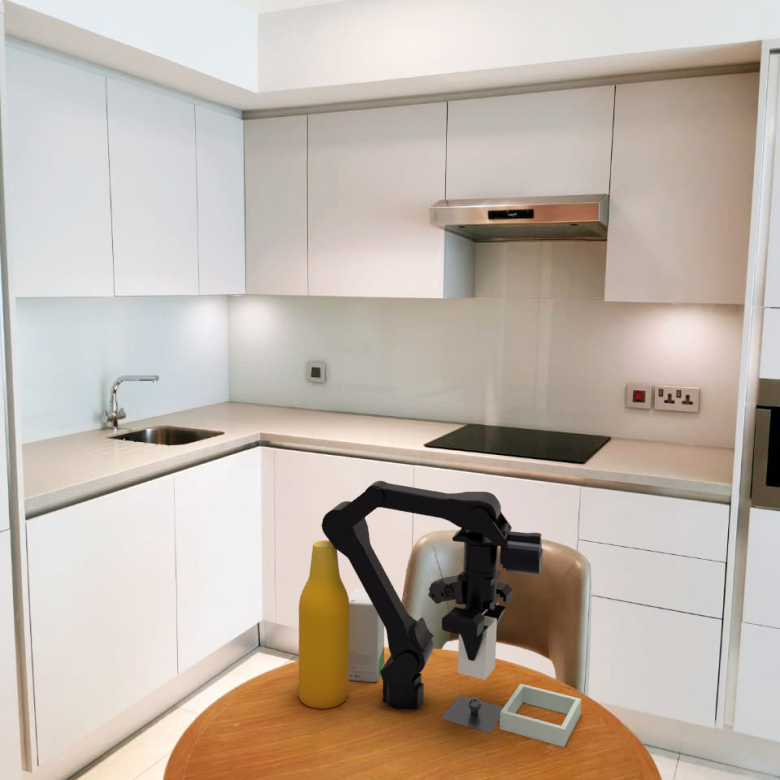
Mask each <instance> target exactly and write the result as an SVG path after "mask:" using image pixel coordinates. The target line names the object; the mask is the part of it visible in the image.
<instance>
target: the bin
mask: <svg viewBox="0 0 780 780" xmlns="http://www.w3.org/2000/svg"><path fill="white" fill-rule="evenodd" d="M522 704H527V705H530V706H534V707H537V708H542V709H546V710H549V711H554V712H558V713H561V714H564V715H566V717H565V718H564V720H563V721H562V724H561V725H559V724H555V723H553V722H548V721H544V720H541V719H536V718H534V717H530V716H527V715H522V714H518V713H517V712H518V711H519V709H520V707H522ZM503 707H504V708H503V709H502V710H501V712H500V720H499V730H502V731H506V732H509V733H512V734H516V735H520V736H524V737H527V738H530V739H534V740H537V741H541V742H545V743H548V744H552V745H554V746H555V745H556V746H558V747H562V748H565V746H566V744H567V743H568V741H569V738H570V737H571V735H572V732H573V731H574V728H575V726H576V725H577V723H578V720H579V719H580V717H581V712H582V711H581V709H582V698H579V697H576V696H571V695H568V694H563V693H559V692H556V691H552V690H547V689H544V688H539V687H535V686H531V685H528V684H524V683H519V685H518V686H517V688H516V689H515V691H514V692H513V693H512V695H511V696H510V698H509V699H508V701H507V702H506V703H505V705H504V706H503Z"/></svg>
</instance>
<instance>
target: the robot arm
mask: <svg viewBox="0 0 780 780" xmlns="http://www.w3.org/2000/svg"><path fill="white" fill-rule="evenodd" d="M378 508H382V509H389V510H394V511H399V512H405V513H410V514H416V515H421V516H427V517H433V518H437V519H438V518H439V519H441V520H446V521H448V522H449V523H451V524H453V525H454V526H456V527H458V528H460V529H459V530H457V531H456V532H455V533H454V535H453V536H452V541H453V542H457V543H463V567H462V570H463V571H461V572H460V573H459V574H457V575H451V576H446V577H442V578H439V579H437V580H434V581H432V582H431V583H430V586H429V588H428V591H429V592H428V595H427V596H428V597H429V598H430V599H431V600H432V601H433V602H434V603H435V604H437V605H438V604H441V603H442V602H449V601H454V600H455V604H456V605H460V606H463V605H465V606H464V608H462V607H457V606H454V607H453V608H451V610H449V611H447V613H446V614H445V615H443V617H442V618H441V630H442V631H444V632H448V633H452V634H456V635H459V634H460V635H461V637H462V640H463V643H464V647H465V650H466V653H467V657H468V660H471V661H474V660H475V659H476V656H477V654H478V652H479V649H480V647H481V644H482V642H483V639H484V637H485V634H486V632H487V629H488V626H485V625H484V624H485V618H484V616H487V617H492V618H496V619H497V625H498V624H499V622H500V620H501V618H502V617H503V615H504V612H505V611H506V606H505V605H508V604H510V603H511V601H512V600H513V589H512V587H511V586H510V585H509V584H508V583H504V582H501V581H500V582H499V581H498V580H499V579H500V578H501V570H500V571H499V570H498V550H499V547H500V551H499V552H500V553H499V564H500V565H502V569H505V570H506V572H510V573H511V572H512V573H519V574H520V573H521V574H527V575H535V576H536V575H537V576H540V575H541V574H542V567H543V566H542V564H543V556H544V555H543V554H544V553H543V552H544V549H543V547H542V545H543V543H542V533H541V532H523V531H522V532H520V531H519V532H518V531H512V528H513V527H512V526H511V524H510V522H509V521H508V519H507V518H506V517H505V515H504V514H503V512H502V505H501V504H500V500H499V499H498V498H497V497H496V495H495V494H493V493H492V492H488V491H464V492H463V491H462V492H453V493H452V492H451V493H446V492H442V491H436V490H430V489H424V488H417V487H414V486H409V485H408V486H406V485H401V484H397V483H396V484H395V483H389V482H386V481H383V480H377V481H374V482H373V483H372V484H370V485H369V486H368V487H367V488H366V489H365V491H364V492H362V493H361V494H360V495H358V496H357V497H356V498H355V499H353V500H352V501H350V500H347V501H346V500H345V501H341V502H339V503H338V504H337V505H336V506H334V507H333V508H332V509H330V510H329V511H328V512H326V513H325V515H324V516H323V519H322V521H321V522H322V523H321V530H322V533H323V534H324V536H325V537H326V538H327V539H328V540H327V541H330V542H331V543H332V545H333V546H334V547H335V548H336V549H337V552H340V553H341V554H342V555H343V556H344V557H346V559H348V561H349V563H350V565H351V567H352V568H353V570H354V572H355V574H356V575H357V577H358V580H359V581H360V583H361V585H362V587H363V589H365V591H366V593H367V594H368V596H369V598H370V600H371V602H372V604H373V606H374V607H375V609H376V611H377V613H378V615H379V617H380V619H381V621H382V622H383V624H384V629H385V632H386V638H387V645H388V650H389V653H390V656H389V657H388V658H387V660H386V662H384V666H383V668H382V670H381V671H380V673H381V675H380V677H381V679H382V702H384V703H386V705H388V707H390V708H392V709H395V710H402V711H404V710H412V711H413V710H416V711H417V710H419V709H420V708H421V707H422V705H423V704H424V696H425V695H424V691H425V690H424V689H425V687H424V686H425V684H424V682H422V677H423V676H422V673H421V672H422V671H423V670H424V668H425V667H426V665H427V663H428V660H429V659H430V658H431V655H432V653H433V650H434V642H433V638H434V636H435V635H434V634H433V633H432V632H431V631H430V630H429V628H428V626H427V623H426V621H425V619H424V617H420V618H419V619H417V620H416V619H415V618H414V617H412V616H411V615H410V614H409V613H408V611H407V609H406V608H405V606H404V604H403V602H402V600H401V598H400V596H399V595H398V593H397V591H396V589H395V587H394V585H393V583H392V582H391V580H390V578H389V576H388V575H387V573H386V571H385V569H384V566H383V565H382V563H381V561H380V560H379V558H378V555H377V554H376V552H375V550H374V548H373V547H372V544H371V538H370V531H369V525H368V522H367V520H366V517H367V516H368V515H370V514H371V513H372V512H374V511H375V510H377V509H378ZM500 598H502V602H503V604H505V605H501V604H499V601H500Z"/></svg>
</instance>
